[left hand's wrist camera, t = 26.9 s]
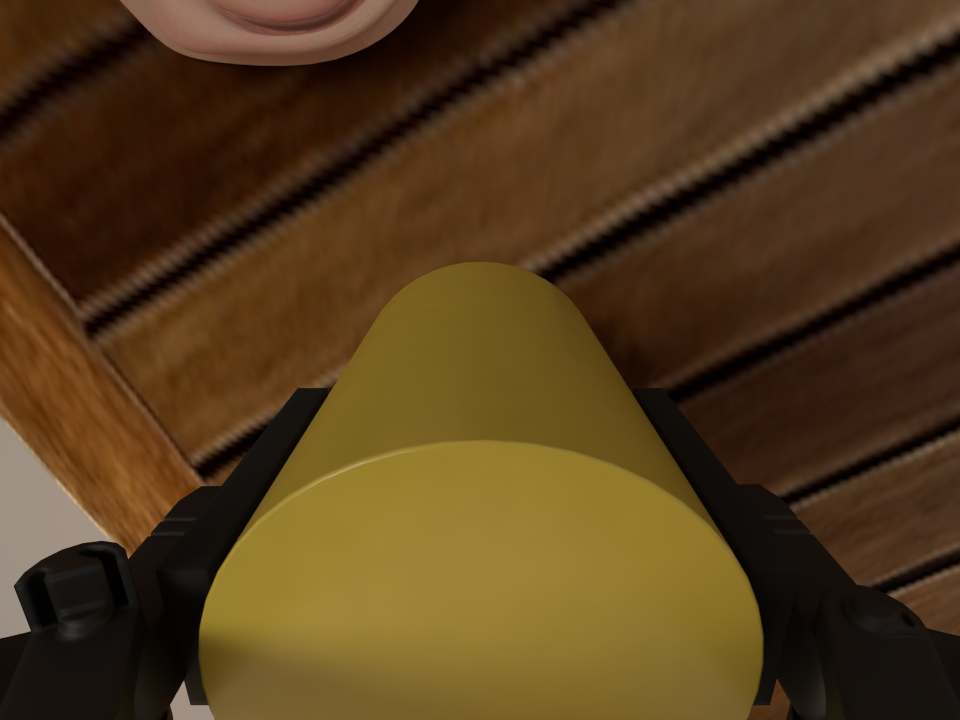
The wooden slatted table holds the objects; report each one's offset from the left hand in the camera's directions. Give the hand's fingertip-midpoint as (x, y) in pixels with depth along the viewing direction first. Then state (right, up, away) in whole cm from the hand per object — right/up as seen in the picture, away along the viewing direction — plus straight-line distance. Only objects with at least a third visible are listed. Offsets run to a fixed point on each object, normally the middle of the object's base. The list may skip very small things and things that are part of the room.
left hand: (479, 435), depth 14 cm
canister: (0, +1, +4) cm, 4 cm away
